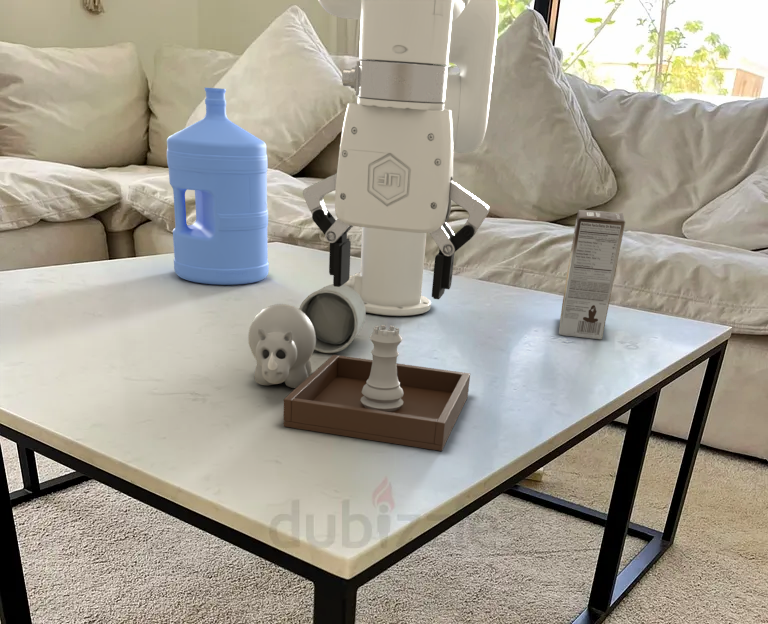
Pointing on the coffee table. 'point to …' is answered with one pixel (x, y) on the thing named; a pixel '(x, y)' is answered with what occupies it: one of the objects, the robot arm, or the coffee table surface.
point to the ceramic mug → (334, 316)
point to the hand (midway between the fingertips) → (389, 289)
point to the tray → (350, 418)
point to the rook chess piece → (383, 372)
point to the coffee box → (591, 273)
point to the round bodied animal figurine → (282, 345)
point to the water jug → (219, 199)
